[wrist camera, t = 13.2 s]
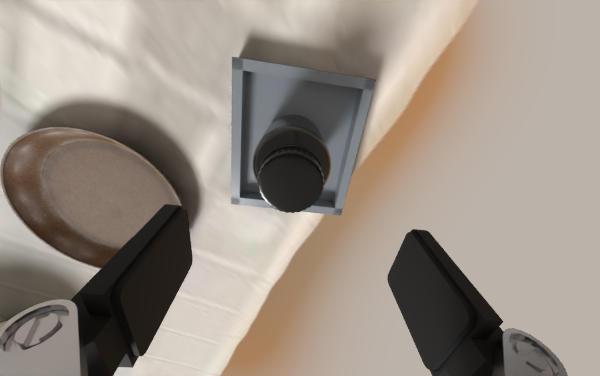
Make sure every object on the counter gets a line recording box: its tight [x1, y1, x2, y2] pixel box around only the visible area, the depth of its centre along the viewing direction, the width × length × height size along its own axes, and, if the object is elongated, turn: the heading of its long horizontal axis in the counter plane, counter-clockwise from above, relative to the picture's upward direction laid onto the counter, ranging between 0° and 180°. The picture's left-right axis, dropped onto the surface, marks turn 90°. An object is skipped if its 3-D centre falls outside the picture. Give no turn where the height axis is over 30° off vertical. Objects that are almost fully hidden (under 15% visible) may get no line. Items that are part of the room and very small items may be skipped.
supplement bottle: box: [252, 115, 331, 213], centre depth 21 cm, size 7×7×12 cm
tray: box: [231, 57, 376, 215], centre depth 26 cm, size 16×14×2 cm
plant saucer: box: [0, 127, 183, 269], centre depth 29 cm, size 21×21×3 cm
